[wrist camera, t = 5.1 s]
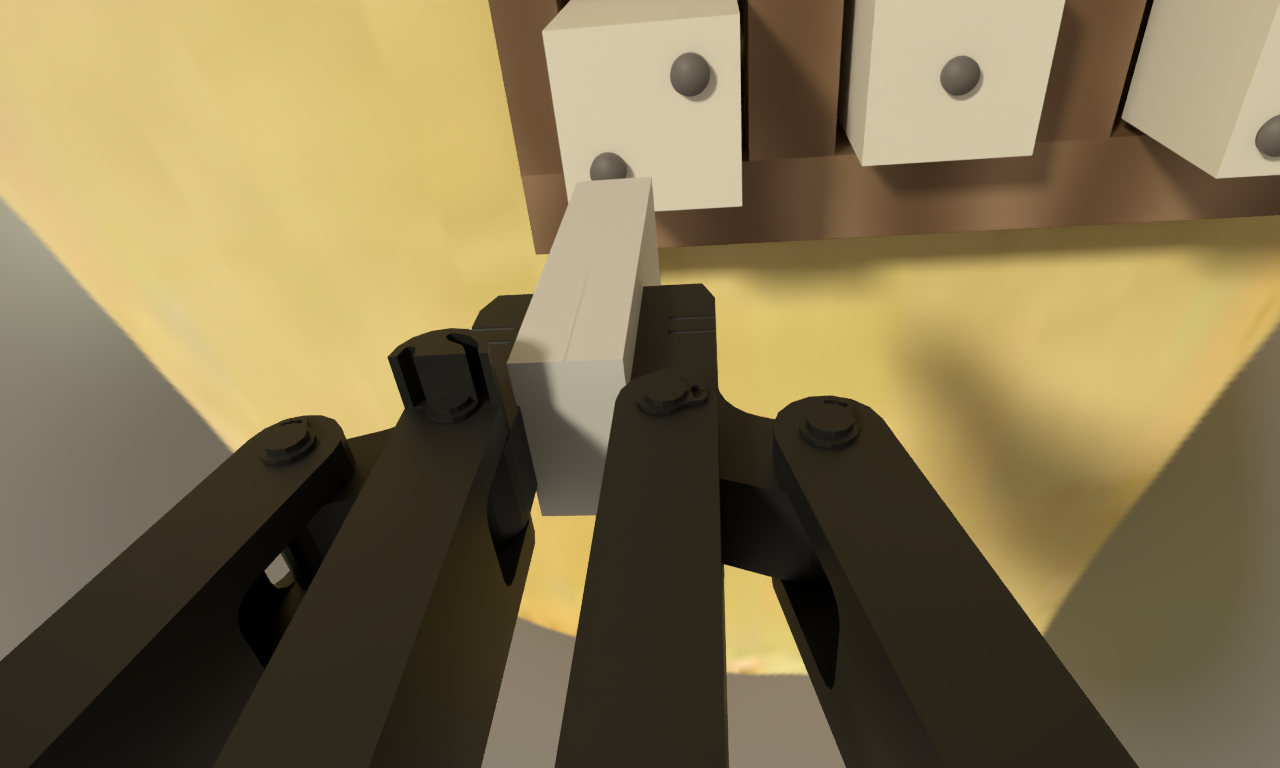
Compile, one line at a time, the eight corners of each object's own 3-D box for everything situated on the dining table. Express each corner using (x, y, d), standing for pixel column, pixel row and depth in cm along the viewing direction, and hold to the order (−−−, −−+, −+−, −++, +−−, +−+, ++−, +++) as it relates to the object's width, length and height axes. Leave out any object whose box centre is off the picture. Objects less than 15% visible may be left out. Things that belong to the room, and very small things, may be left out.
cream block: (836, 118, 30) (863, 173, 25) (845, -40, 27) (878, -14, 21) (976, 108, 29) (1034, 163, 24) (1003, -55, 26) (1076, -32, 21)
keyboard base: (552, 215, 34) (535, 254, 30) (493, -131, 26) (463, -129, 23) (1270, 173, 30) (1338, 211, 27) (1436, -238, 23) (1557, -253, 20)
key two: (594, 157, 28) (569, 224, 23) (573, -4, 25) (540, 33, 20) (736, 148, 28) (742, 214, 23) (733, -18, 25) (740, 16, 20)
